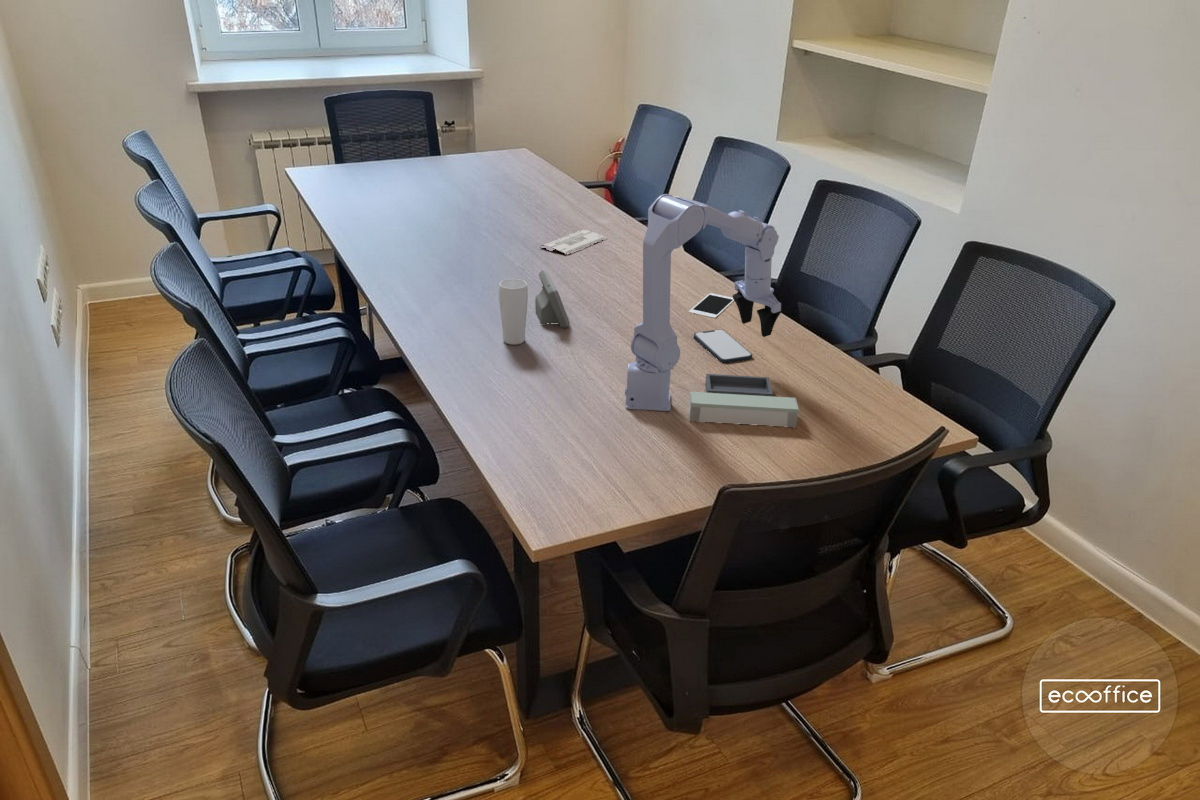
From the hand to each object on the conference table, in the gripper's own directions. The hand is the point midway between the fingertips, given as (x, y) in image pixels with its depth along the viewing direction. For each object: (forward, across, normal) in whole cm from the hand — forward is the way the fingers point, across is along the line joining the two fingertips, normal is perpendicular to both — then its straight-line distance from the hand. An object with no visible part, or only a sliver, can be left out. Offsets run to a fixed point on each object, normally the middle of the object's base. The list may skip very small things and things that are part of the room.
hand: (756, 328), depth 199 cm
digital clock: (+8, +46, +31) cm, 56 cm away
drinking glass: (+5, +36, +46) cm, 59 cm away
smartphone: (+11, +12, +1) cm, 16 cm away
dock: (+8, -18, +17) cm, 26 cm away
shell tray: (+9, -9, +12) cm, 17 cm away
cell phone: (+13, +36, -12) cm, 40 cm away
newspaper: (+13, +97, +1) cm, 98 cm away
